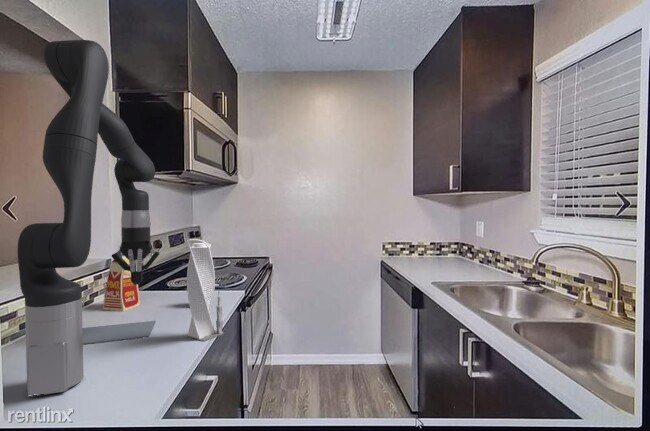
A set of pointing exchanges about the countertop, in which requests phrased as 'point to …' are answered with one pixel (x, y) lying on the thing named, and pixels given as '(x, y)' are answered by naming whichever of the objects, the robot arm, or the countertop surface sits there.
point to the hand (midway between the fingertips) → (137, 283)
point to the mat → (117, 332)
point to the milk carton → (120, 289)
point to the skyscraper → (202, 292)
